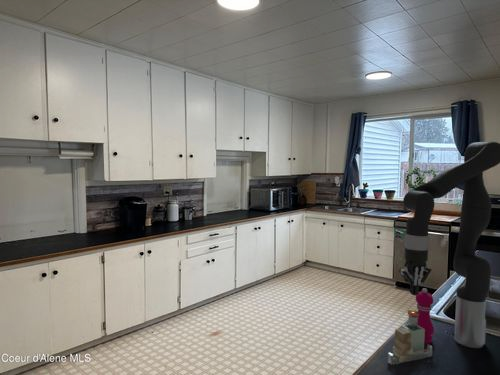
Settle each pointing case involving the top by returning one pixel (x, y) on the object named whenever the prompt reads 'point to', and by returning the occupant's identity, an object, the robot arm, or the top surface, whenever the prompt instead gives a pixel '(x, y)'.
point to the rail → (415, 355)
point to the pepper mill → (425, 314)
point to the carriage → (402, 345)
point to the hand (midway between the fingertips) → (414, 294)
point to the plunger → (413, 319)
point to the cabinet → (416, 337)
